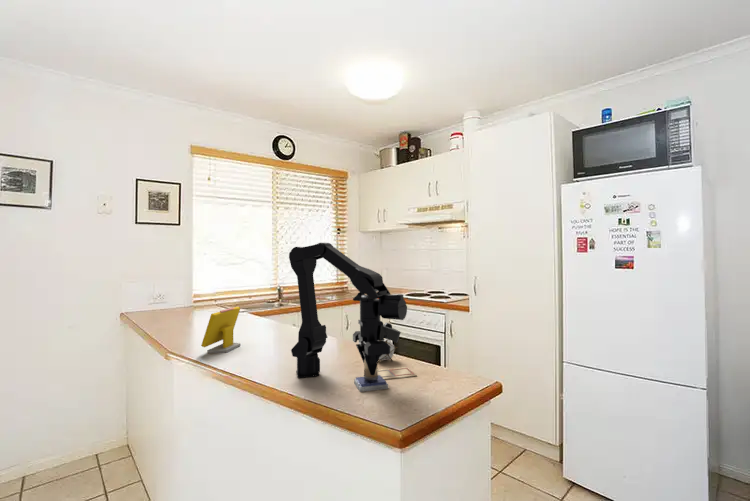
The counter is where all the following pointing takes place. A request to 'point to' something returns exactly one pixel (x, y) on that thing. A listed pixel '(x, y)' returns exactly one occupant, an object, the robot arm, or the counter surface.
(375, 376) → the stamp
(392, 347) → the game die
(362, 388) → the ink pad
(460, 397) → the counter surface
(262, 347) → the counter surface
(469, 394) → the counter surface
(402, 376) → the card sheet
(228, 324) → the toy computer monitor
